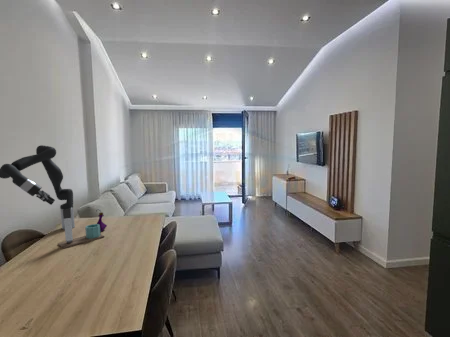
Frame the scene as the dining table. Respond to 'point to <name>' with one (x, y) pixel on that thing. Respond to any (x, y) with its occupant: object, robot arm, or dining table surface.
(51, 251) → the dining table surface
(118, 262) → the dining table surface
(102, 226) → the perfume bottle
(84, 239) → the walnut board
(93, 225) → the crock
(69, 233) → the grey long forked bar
